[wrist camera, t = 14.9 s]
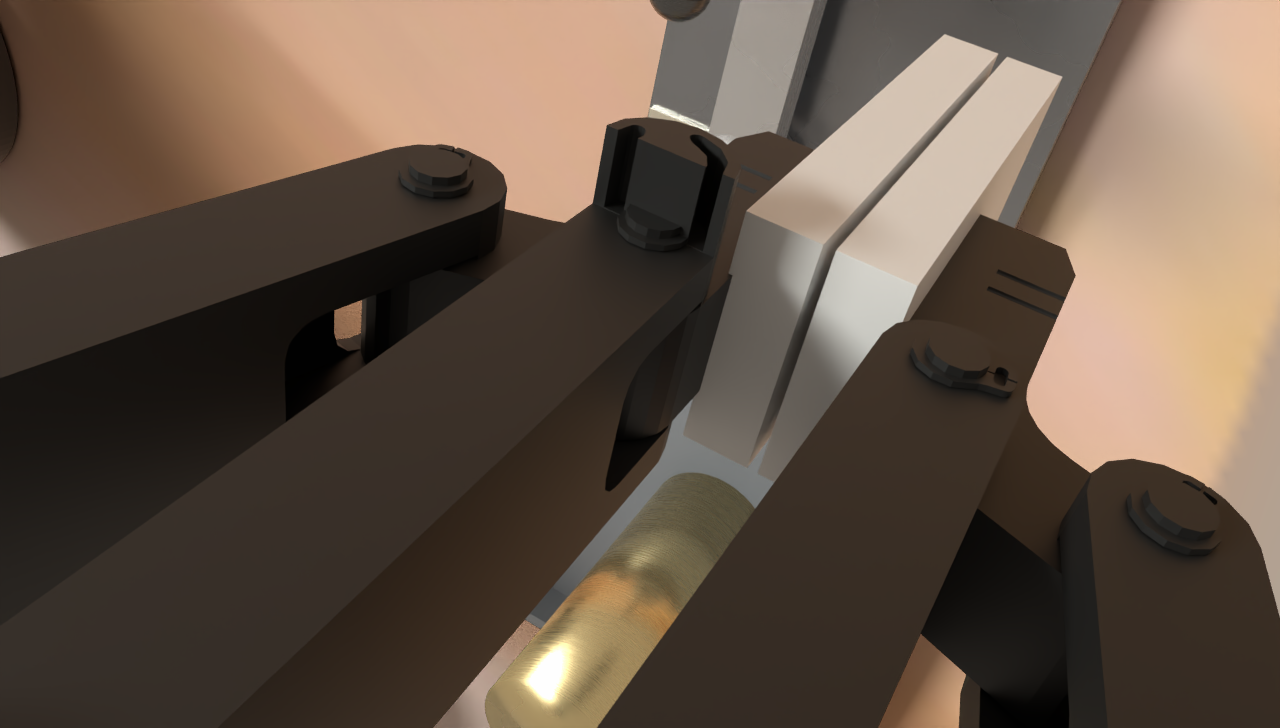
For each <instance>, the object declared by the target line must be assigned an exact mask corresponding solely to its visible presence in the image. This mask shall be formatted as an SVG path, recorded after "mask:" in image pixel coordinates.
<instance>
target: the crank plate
mask: <svg viewBox="0 0 1280 728" xmlns="http://www.w3.org/2000/svg"><path fill="white" fill-rule="evenodd" d="M1122 1H1123V0H827V3H826V6H825V9H824V13H823V16H822V19H821V23H820V26H819V30H818V33H817V36H816V40H815V43H814V46H813V50H812V53H811V57H810V60H809V63H808V67H807V70H806V74H805V77H804V80H803V84H802V87H801V90H800V94H799V97H798V101H797V104H796V107H795V111H794V114H793V117H792V121H791V124H790V128H789V131H788V133H789V135H790V136H791V137H792V139H793V140H794V142H796V143H799V144H801V145H804V146H806V147H809V148H811V149H814V150H815V149H816V148H817V147H819V146H820V145H821V144H822V143H823V142H824V141H825V140H826V139H828V138H829V137H830V136H831V135H832V134H833V133H834V132H835V131H837V130H838V129H839V128H840V127H841V126H842V125H843V124H844V123H846V122H847V121H848V120H849V119H850V118H851V117H852V116H853V115H855V114H856V113H857V112H858V111H859V110H860V109H861V108H862V107H864V106H865V105H866V104H867V103H868V102H869V101H870V100H871V99H873V98H874V97H875V96H876V95H877V94H878V93H879V92H880V91H881V90H883V89H884V88H885V87H886V86H887V85H888V84H889V83H890V82H892V81H893V80H894V79H895V78H896V77H897V76H898V75H899V74H901V73H902V72H903V71H904V70H905V69H906V68H907V67H908V66H910V65H911V64H912V63H913V62H914V61H915V60H916V59H917V58H919V57H920V56H921V55H922V54H923V53H924V52H925V51H926V50H928V49H929V48H930V47H931V46H932V45H933V44H934V43H935V42H937V41H938V40H939V39H940V38H941V37H942V36H943V35H944V34H945V35H948V36H951V37H954V38H956V39H959V40H962V41H965V42H968V43H970V44H973V45H976V46H979V47H981V48H984V49H987V50H990V51H992V52H995V53H998V56H997V58H996V60H995V63H994V65H993V68H992V70H991V73H990V75H989V77H990V76H991V74H992V73H993V72H994V71H995V70H996V69H997V68H998V67H999V65H1000V64H1001V63H1002V62H1003V61H1004V60H1005V59H1006V57H1009V58H1012V59H1015V60H1017V61H1020V62H1023V63H1026V64H1028V65H1031V66H1034V67H1037V68H1040V69H1042V70H1045V71H1048V72H1051V73H1053V74H1056V75H1059V76H1062V79H1061V82H1060V84H1059V86H1058V88H1057V90H1056V93H1055V95H1054V97H1053V99H1052V101H1051V104H1050V106H1049V108H1048V110H1047V113H1046V115H1045V117H1044V119H1043V121H1042V124H1041V126H1040V128H1039V130H1038V132H1037V135H1036V137H1035V139H1034V141H1033V143H1032V146H1031V148H1030V150H1029V152H1028V154H1027V157H1026V159H1025V161H1024V163H1023V165H1022V168H1021V170H1020V172H1019V174H1018V176H1017V179H1016V181H1015V183H1014V185H1013V187H1012V190H1011V192H1010V194H1009V196H1008V198H1007V201H1006V203H1005V205H1004V207H1003V209H1002V212H1001V214H1000V216H999V218H998V222H1001V223H1003V224H1006V225H1008V226H1011V227H1013V228H1015V229H1016V227H1017V225H1018V223H1019V221H1020V218H1021V216H1022V214H1023V212H1024V210H1025V208H1026V206H1027V203H1028V201H1029V199H1030V197H1031V195H1032V193H1033V191H1034V188H1035V186H1036V184H1037V182H1038V180H1039V178H1040V176H1041V174H1042V171H1043V169H1044V167H1045V165H1046V163H1047V161H1048V159H1049V156H1050V154H1051V152H1052V150H1053V148H1054V146H1055V144H1056V142H1057V139H1058V137H1059V135H1060V133H1061V131H1062V129H1063V127H1064V124H1065V122H1066V120H1067V118H1068V116H1069V114H1070V112H1071V110H1072V107H1073V105H1074V103H1075V101H1076V99H1077V97H1078V95H1079V92H1080V90H1081V88H1082V86H1083V84H1084V82H1085V80H1086V77H1087V75H1088V73H1089V71H1090V69H1091V67H1092V65H1093V63H1094V60H1095V58H1096V56H1097V54H1098V52H1099V50H1100V48H1101V45H1102V43H1103V41H1104V39H1105V37H1106V35H1107V33H1108V31H1109V28H1110V26H1111V24H1112V22H1113V20H1114V18H1115V16H1116V13H1117V11H1118V9H1119V7H1120V5H1121V3H1122ZM740 2H741V0H711V1H710V3H709V5H708V7H707V8H706V10H705V11H704V12H703V13H702V14H701V15H700V16H698V17H697V18H695V19H693V20H691V21H688V22H681V23H678V22H672V21H669V20H668V21H667V26H666V31H665V35H664V40H663V45H662V50H661V55H660V60H659V65H658V70H657V74H656V79H655V84H654V89H653V94H652V99H651V104H650V109H649V114H648V117H650V118H657V119H665V120H672V121H677V122H681V123H684V124H687V125H690V126H693V127H697V128H700V129H702V130H704V131H706V132H709V128H710V124H711V120H712V116H713V112H714V108H715V104H716V100H717V96H718V92H719V88H720V84H721V79H722V75H723V71H724V67H725V63H726V59H727V55H728V51H729V47H730V43H731V39H732V35H733V31H734V26H735V22H736V18H737V14H738V10H739V6H740Z"/></svg>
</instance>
